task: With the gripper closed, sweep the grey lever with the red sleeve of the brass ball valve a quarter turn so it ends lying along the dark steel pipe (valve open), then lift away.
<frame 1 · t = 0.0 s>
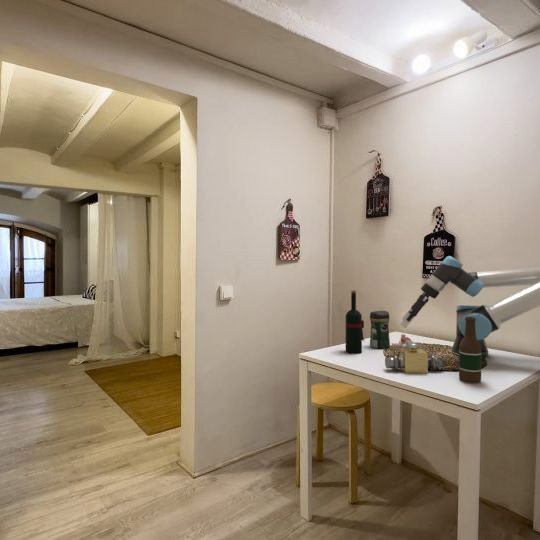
hand: (403, 323, 176), 15 cm above the table, tool tilted 35°, fingers open, 13 cm apart
lever: (409, 343, 160), point 10 cm above the table, hinge at -90.0°
pipe connector: (403, 356, 178), on the table
wine bottle: (355, 352, 186), on the table
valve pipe: (413, 370, 156), on the table
coffee jar: (379, 347, 194), on the table
beer bottle: (469, 380, 143), on the table
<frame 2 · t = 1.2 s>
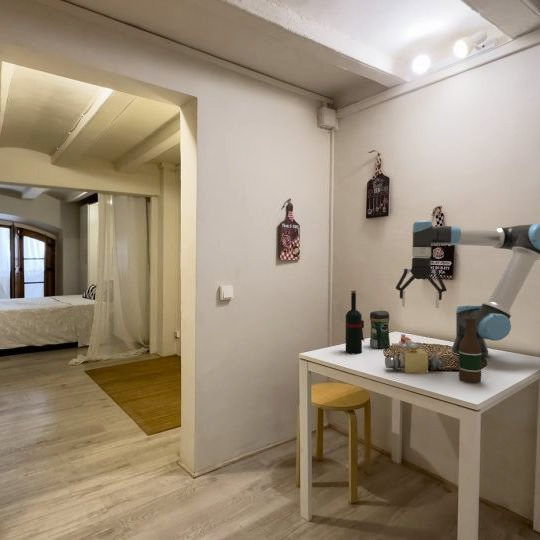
hand: (420, 307, 163), 25 cm above the table, tool pointing down, fingers open, 13 cm apart
nothing on the table moved.
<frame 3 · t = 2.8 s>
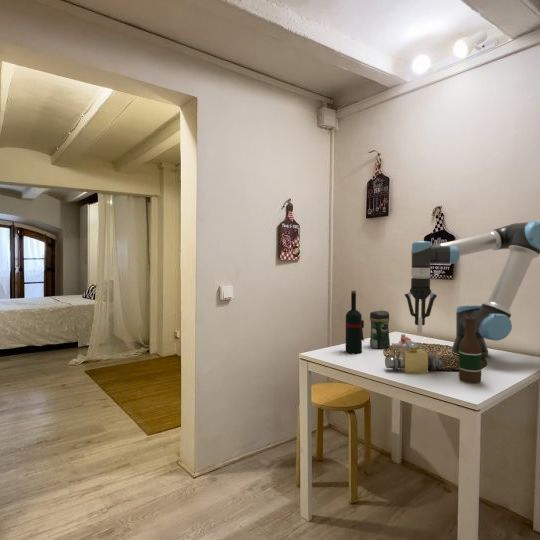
hand: (419, 332, 163), 14 cm above the table, tool pointing down, fingers closed
nothing on the table moved.
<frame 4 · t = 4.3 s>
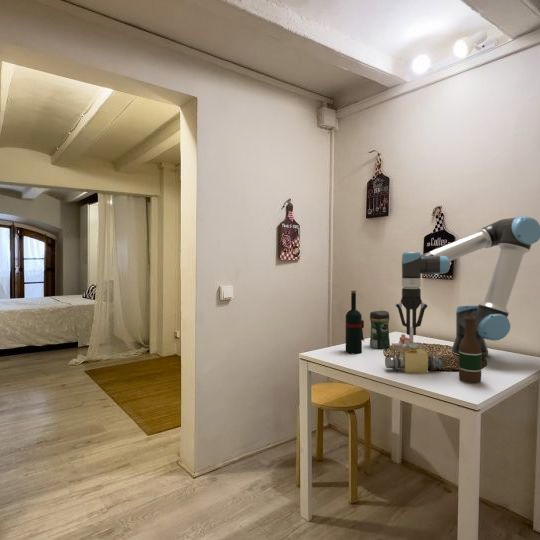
hand: (411, 342, 164), 10 cm above the table, tool pointing down, fingers closed
lever: (409, 343, 160), point 10 cm above the table, hinge at -87.7°, touching gripper
everything else where it was.
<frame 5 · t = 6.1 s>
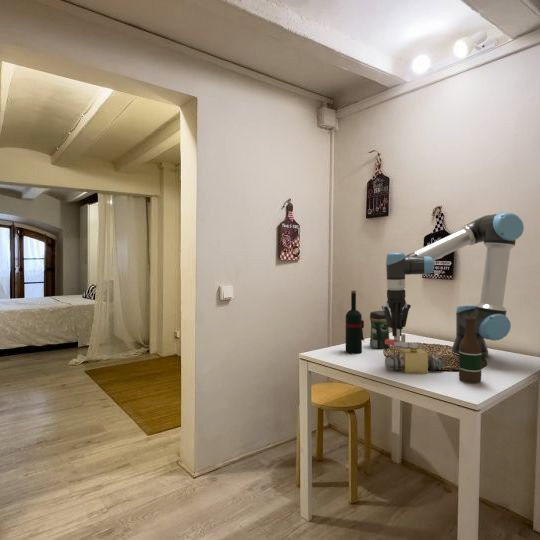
hand: (397, 343, 163), 9 cm above the table, tool pointing down, fingers closed
lever: (402, 344, 159), point 10 cm above the table, hinge at -44.0°, touching gripper
everything else where it was.
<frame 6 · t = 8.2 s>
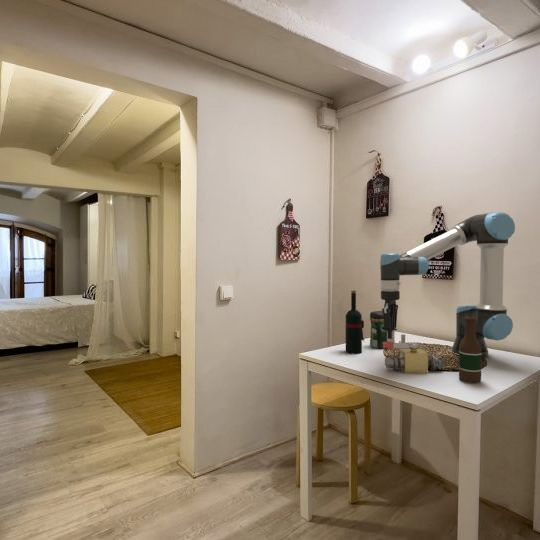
hand: (390, 345, 160), 9 cm above the table, tool pointing down, fingers closed
lever: (400, 345, 156), point 10 cm above the table, hinge at -11.4°, touching gripper
everything else where it was.
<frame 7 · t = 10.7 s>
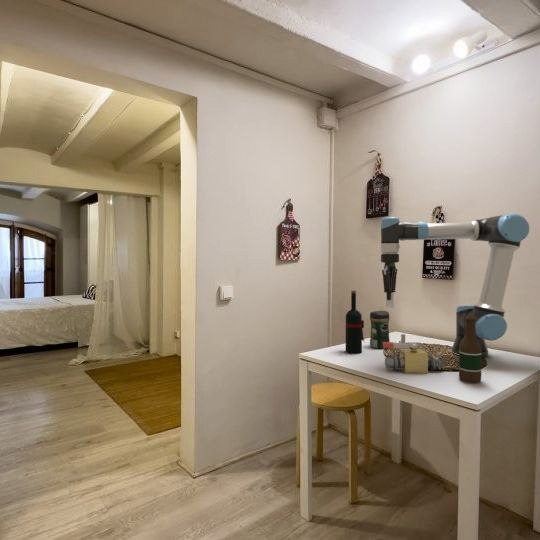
hand: (389, 307, 166), 24 cm above the table, tool pointing down, fingers closed
lever: (400, 345, 156), point 10 cm above the table, hinge at -11.4°
everything else where it was.
at the end: lever at -11° (first picture: -90°) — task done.
